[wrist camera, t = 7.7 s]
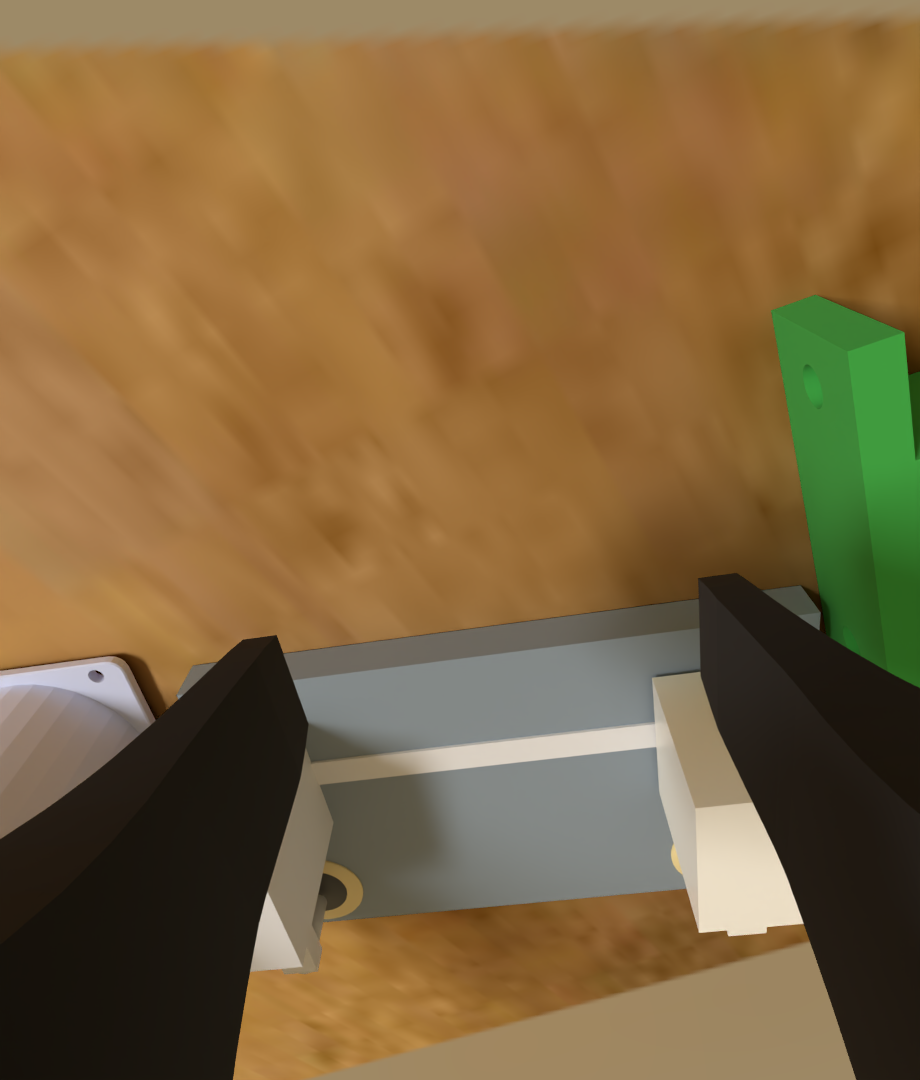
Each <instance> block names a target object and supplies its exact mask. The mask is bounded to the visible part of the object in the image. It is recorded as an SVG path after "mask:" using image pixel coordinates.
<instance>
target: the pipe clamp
mask: <svg viewBox="0 0 920 1080" xmlns="http://www.w3.org/2000/svg"><path fill="white" fill-rule="evenodd" d="M771 312H772V318H773V324H774V330H775V336H776V342H777V347H778V353H779V359H780V365H781V371H782V377H783V383H784V389H785V394H786V400H787V406H788V412H789V418H790V424H791V430H792V435H793V441H794V447H795V453H796V459H797V465H798V471H799V477H800V482H801V488H802V494H803V500H804V506H805V512H806V518H807V524H808V529H809V535H810V541H811V547H812V553H813V559H814V565H815V570H816V576H817V582H818V588H819V594H820V600H821V606H822V612H823V617H824V623H825V629H826V635H827V636H829V637H830V638H832V639H834V640H835V641H837V642H838V643H840V644H842V645H843V646H845V647H847V648H848V649H850V650H851V651H853V652H855V653H857V654H858V655H860V656H862V657H864V658H865V659H867V660H869V661H870V662H872V663H874V664H876V665H877V666H879V667H881V668H883V669H884V670H886V671H888V672H890V673H892V674H893V675H895V676H897V677H899V678H901V679H903V680H905V681H907V682H909V683H911V684H913V685H915V686H917V687H919V688H920V372H917V373H913V374H910V375H908V369H907V357H906V346H905V335H904V332H902V331H900V330H898V329H895V328H893V327H891V326H888V325H886V324H883V323H881V322H879V321H876V320H874V319H872V318H869V317H867V316H864V315H862V314H860V313H857V312H855V311H853V310H850V309H848V308H846V307H843V306H841V305H838V304H836V303H834V302H831V301H829V300H827V299H824V298H822V297H819V296H817V295H814V296H811V297H808V298H805V299H802V300H800V301H797V302H794V303H791V304H788V305H786V306H783V307H780V308H777V309H774V310H771Z"/></svg>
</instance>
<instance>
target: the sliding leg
mask: <svg viewBox="0 0 920 1080" xmlns="http://www.w3.org/2000/svg"><path fill="white" fill-rule="evenodd" d="M652 685H653V701H654V717H655V732H656V748H657V764H658V780H659V793H660V797H661V800H662V804H663V807H664V811H665V814H666V818H667V821H668V825H669V828H670V832H671V835H672V839H673V842H674V846H675V849H676V853H677V856H678V860H679V863H680V867H681V870H682V874H683V878H684V881H685V885H686V888H687V892H688V895H689V899H690V902H691V906H692V909H693V913H694V916H695V920H696V923H697V927H698V930H699V933H702V932H714V931H725V930H727V933H728V936H737V935H749V934H761V933H766V932H767V927H772V926H783V925H795V924H804V923H803V920H802V918H801V915H800V912H799V909H798V907H797V904H796V901H795V898H794V896H793V893H792V890H791V887H790V884H789V882H788V879H787V876H786V874H785V872H784V869H783V867H782V865H781V862H780V860H779V858H778V855H777V853H776V851H775V848H774V846H773V844H772V842H771V840H770V838H769V836H768V834H767V832H766V829H765V827H764V825H763V823H762V821H761V819H760V817H759V815H758V813H757V811H756V809H755V806H754V804H753V802H752V800H751V798H750V796H749V794H748V792H747V790H746V788H745V786H744V784H743V782H742V779H741V777H740V775H739V773H738V771H737V769H736V767H735V765H734V763H733V761H732V758H731V756H730V754H729V752H728V750H727V748H726V746H725V744H724V741H723V739H722V737H721V735H720V733H719V731H718V728H717V725H716V722H715V719H714V716H713V713H712V710H711V707H710V704H709V701H708V698H707V695H706V692H705V689H704V685H703V682H702V679H701V672H695V673H687V674H679V675H671V676H663V677H654V678H652Z"/></svg>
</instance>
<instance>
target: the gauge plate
mask: <svg viewBox="0 0 920 1080" xmlns="http://www.w3.org/2000/svg"><path fill="white" fill-rule="evenodd" d="M762 591H763V592H764V593H766V594H767V595H769V596H770V597H771V598H773V599H774V600H776V601H777V602H778V603H780V604H781V605H783V606H784V607H786V608H787V609H788V610H790V611H791V612H793V613H794V614H796V615H797V616H799V617H800V618H802V619H803V620H804V621H806V622H807V623H809V624H810V625H812V626H813V627H815V628H817V629H818V630H819V628H820V614H821V612H820V611H819V610H818V608H817V607H816V606H815V604H814V603H813V602H812V600H811V599H810V598H809V596H808V595H807V594H806V592H805V591H804V590H803V588H802V587H801V586H792V587H784V588H777V589H769V590H762ZM284 657H285V660H286V663H287V665H288V668H289V671H290V674H291V676H292V679H293V682H294V685H295V688H296V690H297V693H298V696H299V699H300V701H301V704H302V707H303V710H304V712H305V715H306V718H307V721H308V723H309V725H308V733H307V740H306V748H305V755H304V761H303V767H302V773H301V778H300V782H299V786H298V789H297V793H296V796H295V800H294V803H293V807H292V810H291V814H290V817H289V821H288V824H287V827H286V831H285V834H284V838H283V841H282V844H281V848H280V851H279V854H278V858H277V861H276V865H275V868H274V871H273V875H272V878H271V881H270V885H269V888H268V891H267V895H266V898H265V902H264V906H263V910H262V914H261V918H260V922H259V927H258V932H257V937H256V942H255V948H254V953H253V958H252V964H251V969H250V972H251V971H263V970H274V969H282V971H283V973H284V974H294V973H300V974H308V973H310V972H317V971H318V968H319V963H320V958H321V953H322V947H321V945H320V942H319V940H320V935H321V930H322V925H323V922H331V921H342V920H353V919H364V918H374V917H385V916H396V915H407V914H418V913H428V912H439V911H450V910H461V909H471V908H482V907H493V906H504V905H515V904H525V903H536V902H547V901H558V900H569V899H579V898H590V897H601V896H612V895H622V894H633V893H644V892H655V891H666V890H676V889H687V888H686V885H685V881H684V878H683V874H682V870H681V867H680V863H679V860H678V856H677V853H676V849H675V846H674V842H673V839H672V835H671V832H670V828H669V825H668V821H667V818H666V814H665V811H664V807H663V804H662V800H661V797H660V793H659V780H658V764H657V748H656V732H655V717H654V701H653V685H652V678H654V677H663V676H671V675H679V674H687V673H695V672H700V628H699V599H694V600H686V601H679V602H671V603H663V604H656V605H648V606H641V607H633V608H626V609H618V610H610V611H603V612H595V613H588V614H580V615H573V616H565V617H558V618H550V619H542V620H535V621H527V622H520V623H512V624H505V625H497V626H489V627H482V628H474V629H467V630H459V631H452V632H444V633H437V634H429V635H421V636H414V637H406V638H399V639H391V640H384V641H376V642H368V643H361V644H353V645H346V646H338V647H331V648H323V649H315V650H308V651H300V652H293V653H285V654H284ZM215 664H216V663H210V664H202V665H194V666H192V668H191V670H190V672H189V674H188V675H187V677H186V679H185V681H184V683H183V684H182V686H181V688H180V690H179V692H178V694H177V697H178V699H179V698H180V697H182V696H183V695H184V694H185V693H186V692H187V691H188V690H189V689H190V688H191V687H192V686H193V685H194V684H195V683H196V682H197V681H198V680H199V679H201V678H202V677H203V676H204V675H205V674H206V673H207V672H208V671H209V670H210V669H211V668H212V667H213V666H214V665H215Z"/></svg>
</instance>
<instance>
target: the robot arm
mask: <svg viewBox="0 0 920 1080" xmlns="http://www.w3.org/2000/svg"><path fill="white" fill-rule="evenodd" d="M698 583H699V628H700V672H701V679H702V682H703V685H704V689H705V692H706V695H707V698H708V701H709V704H710V707H711V710H712V713H713V716H714V719H715V722H716V725H717V728H718V731H719V733H720V735H721V737H722V739H723V741H724V744H725V746H726V748H727V750H728V752H729V754H730V756H731V758H732V761H733V763H734V765H735V767H736V769H737V771H738V773H739V775H740V777H741V779H742V782H743V784H744V786H745V788H746V790H747V792H748V794H749V796H750V798H751V800H752V802H753V804H754V806H755V809H756V811H757V813H758V815H759V817H760V819H761V821H762V823H763V825H764V827H765V829H766V832H767V834H768V836H769V838H770V840H771V842H772V844H773V846H774V848H775V851H776V853H777V855H778V858H779V860H780V862H781V865H782V867H783V869H784V872H785V874H786V876H787V879H788V882H789V884H790V887H791V890H792V893H793V896H794V898H795V901H796V904H797V907H798V909H799V912H800V915H801V918H802V920H803V923H804V926H805V929H806V932H807V934H808V937H809V940H810V943H811V946H812V949H813V951H814V954H815V957H816V960H817V963H818V966H819V969H820V972H821V974H822V977H823V981H824V983H825V986H826V989H827V992H828V995H829V998H830V1001H831V1003H832V1007H833V1010H834V1013H835V1016H836V1019H837V1022H838V1025H839V1028H840V1031H841V1034H842V1037H843V1040H844V1043H845V1046H846V1049H847V1053H848V1056H849V1059H850V1062H851V1064H852V1068H853V1071H854V1074H855V1077H856V1080H920V688H919V687H917V686H915V685H913V684H911V683H909V682H907V681H905V680H903V679H901V678H899V677H897V676H895V675H893V674H892V673H890V672H888V671H886V670H884V669H883V668H881V667H879V666H877V665H876V664H874V663H872V662H870V661H869V660H867V659H865V658H864V657H862V656H860V655H858V654H857V653H855V652H853V651H851V650H850V649H848V648H847V647H845V646H843V645H842V644H840V643H838V642H837V641H835V640H834V639H832V638H830V637H829V636H827V635H826V634H824V633H823V632H821V631H820V630H818V629H817V628H815V627H813V626H812V625H810V624H809V623H807V622H806V621H804V620H803V619H802V618H800V617H799V616H797V615H796V614H794V613H793V612H791V611H790V610H788V609H787V608H786V607H784V606H783V605H781V604H780V603H778V602H777V601H776V600H774V599H773V598H771V597H770V596H769V595H767V594H766V593H764V592H763V591H762V590H760V589H759V588H757V587H756V586H755V585H753V584H752V583H750V582H749V581H747V580H746V579H745V578H743V577H742V576H740V575H739V574H737V573H734V574H726V575H719V576H712V577H704V578H698ZM95 670H97V671H99V672H101V673H102V674H103V675H100V674H98V673H96V671H95ZM308 725H309V723H308V721H307V718H306V715H305V712H304V710H303V707H302V704H301V701H300V699H299V696H298V693H297V690H296V688H295V685H294V682H293V679H292V676H291V674H290V671H289V668H288V665H287V663H286V660H285V657H284V654H283V652H282V649H281V646H280V643H279V641H278V638H277V635H275V636H267V637H260V638H252V639H245V640H242V641H241V642H240V643H239V644H237V645H236V646H235V647H234V648H233V649H232V650H230V651H229V652H228V653H227V654H226V655H225V656H224V657H223V658H222V659H221V660H219V661H218V662H217V663H216V664H215V665H214V666H213V667H212V668H211V669H210V670H209V671H208V672H207V673H206V674H205V675H204V676H203V677H202V678H201V679H199V680H198V681H197V682H196V683H195V684H194V685H193V686H192V687H191V688H190V689H189V690H188V691H187V692H186V693H185V694H184V695H183V696H182V697H180V698H179V699H178V700H177V701H176V702H175V703H174V704H173V705H172V706H171V707H170V708H169V709H168V710H167V711H166V712H165V713H163V714H162V715H161V716H160V717H159V718H158V719H157V720H155V718H154V716H153V714H152V712H151V710H150V708H149V706H148V704H147V702H146V700H145V698H144V696H143V694H142V692H141V690H140V688H139V686H138V684H137V682H136V680H135V678H134V676H133V674H132V672H131V670H130V668H129V666H128V664H127V663H126V662H125V661H124V660H122V659H121V658H118V657H115V656H107V657H100V658H92V659H85V660H77V661H70V662H63V663H55V664H48V665H41V666H33V667H26V668H18V669H11V670H4V671H0V1080H233V1075H234V1067H235V1060H236V1053H237V1046H238V1040H239V1034H240V1028H241V1022H242V1016H243V1010H244V1003H245V997H246V991H247V985H248V980H249V974H250V969H251V964H252V958H253V953H254V948H255V942H256V937H257V932H258V927H259V922H260V918H261V914H262V910H263V906H264V902H265V898H266V895H267V891H268V888H269V885H270V881H271V878H272V875H273V871H274V868H275V865H276V861H277V858H278V854H279V851H280V848H281V844H282V841H283V838H284V834H285V831H286V827H287V824H288V821H289V817H290V814H291V810H292V807H293V803H294V800H295V796H296V793H297V789H298V786H299V782H300V778H301V773H302V767H303V761H304V755H305V748H306V740H307V733H308Z"/></svg>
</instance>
